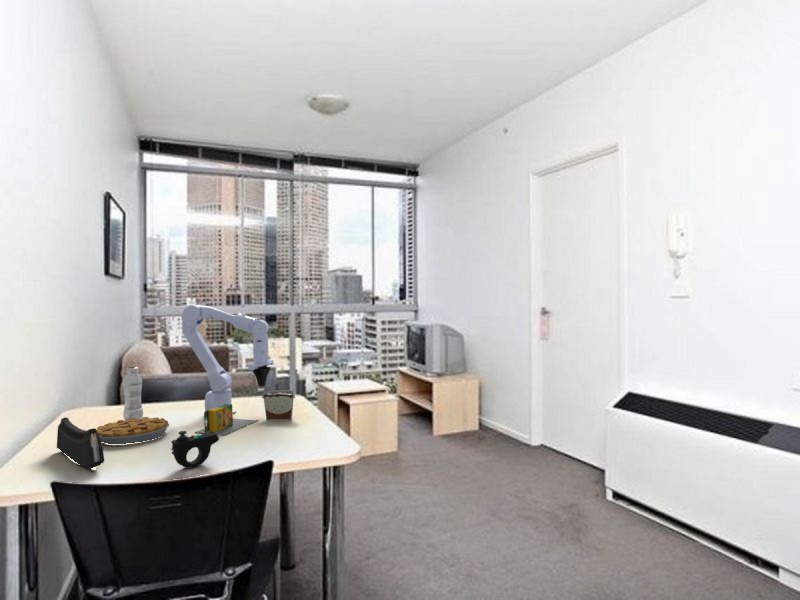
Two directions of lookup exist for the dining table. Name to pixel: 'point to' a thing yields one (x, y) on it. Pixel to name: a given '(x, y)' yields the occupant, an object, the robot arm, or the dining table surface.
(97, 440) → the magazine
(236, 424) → the rubber mat
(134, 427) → the pie
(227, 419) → the crayon box
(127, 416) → the plastic bottle
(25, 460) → the dining table surface
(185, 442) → the controller
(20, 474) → the dining table surface
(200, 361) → the robot arm
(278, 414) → the food container
